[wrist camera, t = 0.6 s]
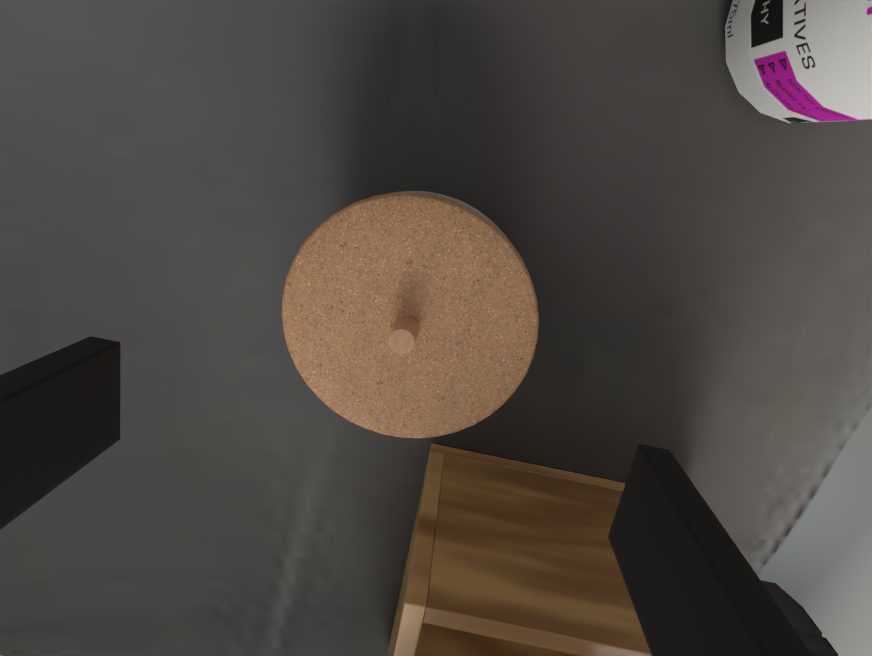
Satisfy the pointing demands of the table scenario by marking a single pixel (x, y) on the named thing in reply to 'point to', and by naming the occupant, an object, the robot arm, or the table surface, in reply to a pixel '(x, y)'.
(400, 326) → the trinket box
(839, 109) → the supplement can
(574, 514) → the chest
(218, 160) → the table surface
